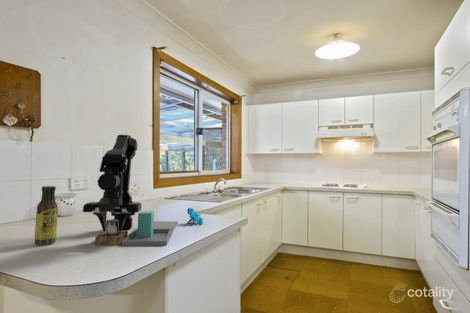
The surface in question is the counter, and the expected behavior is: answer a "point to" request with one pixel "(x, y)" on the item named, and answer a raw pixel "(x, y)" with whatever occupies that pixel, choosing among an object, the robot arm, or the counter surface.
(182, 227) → the counter surface
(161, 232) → the case
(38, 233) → the sauce bottle
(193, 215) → the blue toy frog
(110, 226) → the silver metal cylinder
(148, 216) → the block
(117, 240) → the square wooden tray
